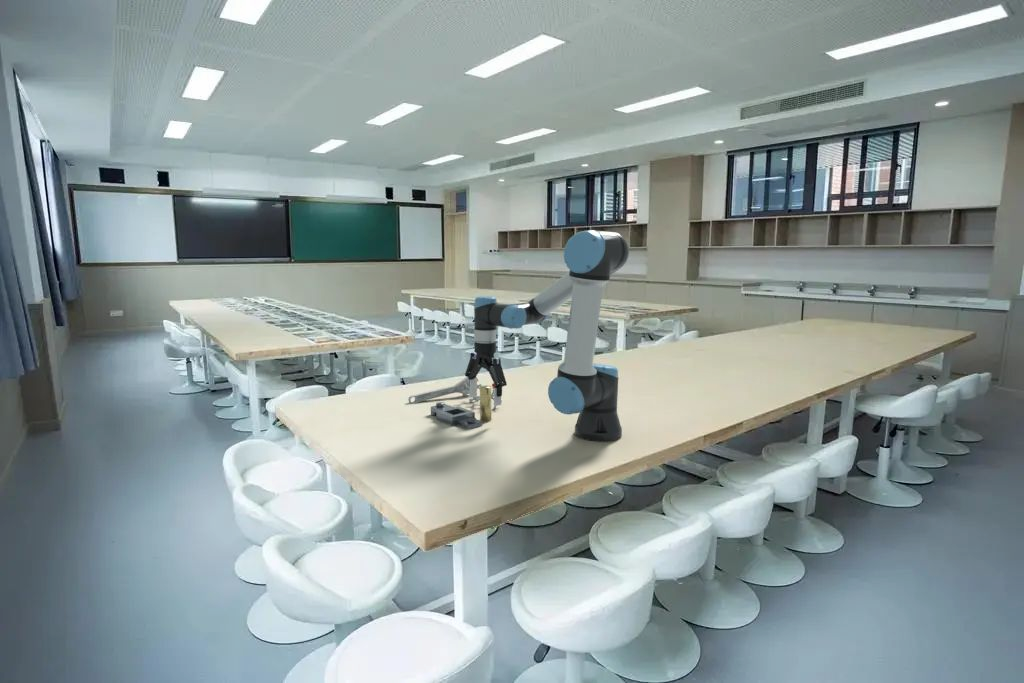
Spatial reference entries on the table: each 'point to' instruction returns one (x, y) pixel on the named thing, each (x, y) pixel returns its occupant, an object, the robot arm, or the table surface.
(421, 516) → the table surface
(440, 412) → the link plate
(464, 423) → the link plate
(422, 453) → the table surface
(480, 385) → the molecular model
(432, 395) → the wrench
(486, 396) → the pin
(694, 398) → the table surface
